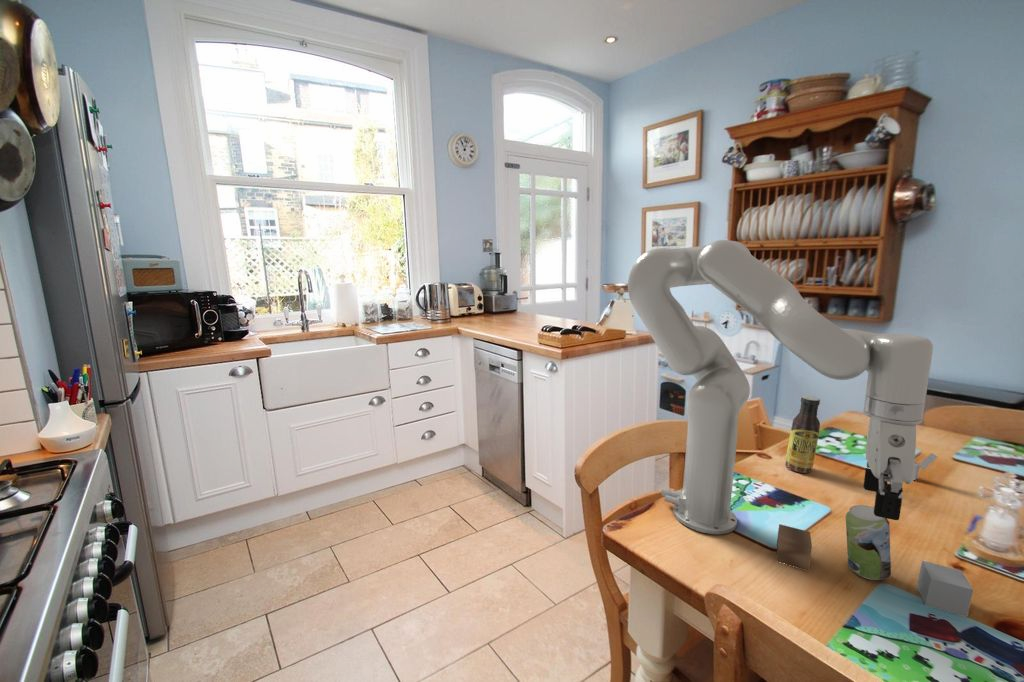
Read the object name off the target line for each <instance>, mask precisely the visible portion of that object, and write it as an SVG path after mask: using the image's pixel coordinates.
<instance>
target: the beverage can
mask: <svg viewBox="0 0 1024 682" xmlns="http://www.w3.org/2000/svg"><path fill="white" fill-rule="evenodd" d="M845 529H846V530H845V531H846V549H847V551H846V553H847V554H846V555H847V566H848V567H849V569H850V570H851V571H853V572H854V573H855V574H856V575H858V576H860V577H862V578H864V579H868V580H870V581H871V580H872V581H881V580H885V579H888V578H889V577H891V574H892V565H891V563H892V561H891V534H890V533H891V532H890V531H891V530H890V521H889V520H888V519H887V518H883V517H878V516H875V515H874V506H869V505H863V504H861V505H859V504H858V505H853V506H851V507H849V509H848V512H846V514H845Z"/></svg>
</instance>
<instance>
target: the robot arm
mask: <svg viewBox="0 0 1024 682" xmlns="http://www.w3.org/2000/svg"><path fill="white" fill-rule="evenodd" d="M697 285H698V286H701V285H712V286H713V287H714V288H715V289H716V290H718V291H719V292H721V294H723V295H724V296H726V297H727V298H729V299H730V300H731V301H732V302H733V303H735V304H736V305H737V306H739V307H740V308H741V309H743V310H744V311H746V312H747V313H748V314H749V315H751V316H752V317H753V318H754V319H756V320H757V322H758V323H759V324H760V325H761V326H762V327H763V328H764V329H765V330H766V331H768V332H769V334H771V335H772V336H773V337H774V338H775V339H776V340H777V341H778V342H779V343H780V344H782V345H783V346H784V347H785V348H786V349H787V350H789V351H790V352H791V353H792V354H793V355H794V356H795V357H798V358H799V359H800V360H802V362H804V363H805V364H806V365H808V366H810V367H811V369H813V370H815V371H816V372H818V373H819V374H821V375H823V376H824V377H827V378H829V379H832V380H836V381H837V380H838V381H846V380H847V381H849V380H852V379H854V378H857V377H859V376H861V375H862V374H863V373H864V372H865V371H866V372H867V374H868V375H867V381H866V390H865V398H864V405H863V414H864V415H865V416H867V417H868V418H869V425H868V429H867V436H866V443H865V460H866V468H865V472H864V478H863V489H864V490H865V491H870V492H875V499H874V506H873V507H874V515H875V516H878V517H883V518H887V520H888V519H889V520H893V521H899V520H900V516H901V510H902V504H903V496H904V495H903V492H904V490H903V484H904V483H905V484H907V485H910V484H912V483H913V482H914V481H913V473H914V462H915V460H916V451H917V425H920V424H922V423H923V419H924V411H925V405H926V396H927V393H928V384H929V378H930V372H931V371H930V370H931V366H932V365H931V364H932V358H933V353H934V352H933V351H934V345H933V342H932V341H931V340H930V339H929V338H927V337H924V336H921V335H916V334H915V335H914V334H907V333H878V332H877V333H876V332H869V331H864V330H859V329H854V328H841V327H839V326H837V325H836V324H835V323H833V322H832V321H831V320H829V319H828V318H826V317H825V316H824V315H822V314H821V313H820V312H818V311H817V310H816V309H815V308H814V307H813V306H811V304H809V303H808V302H807V301H806V299H804V298H803V296H802V295H801V293H800V291H798V289H797V287H795V285H794V284H793V283H791V281H789V280H788V279H787V278H785V277H783V276H782V275H780V273H778V272H777V271H774V270H773V269H772V268H771V267H769V266H767V265H766V264H765V263H763V262H762V261H760V260H759V259H758V258H756V257H755V256H754V255H752V254H751V251H750V250H749V248H748V247H747V246H746V245H745V244H743V243H742V242H739V241H735V240H729V239H719V240H714V241H713V242H712V241H711V243H708V244H707V245H698V246H691V247H684V248H667V247H666V248H664V247H662V248H661V247H660V248H659V247H658V248H654V249H650V250H648V251H646V252H644V253H642V254H641V255H640V256H639V257H638V258H637V259H636V260H635V262H634V264H633V265H632V267H631V270H630V272H629V276H628V280H627V291H628V292H627V293H628V296H629V301H630V303H631V305H632V306H633V309H634V310H635V312H636V314H637V316H638V317H639V318H640V320H641V321H642V323H643V324H644V326H645V328H646V329H647V331H648V332H649V335H650V337H651V338H652V340H653V341H654V343H655V345H656V347H657V348H658V350H659V351H660V353H661V354H662V356H663V358H664V359H665V361H666V363H667V365H668V366H669V367H670V368H671V370H672V371H673V372H675V373H677V374H678V375H680V376H692V375H693V376H694V378H695V379H696V382H695V383H694V385H692V387H691V388H690V391H689V392H688V396H687V400H686V417H687V420H686V421H687V430H686V431H687V432H686V444H685V447H686V449H685V458H684V459H685V461H684V472H683V483H682V485H683V486H682V489H681V490H680V489H677V490H674V489H671V488H667V487H662V488H661V493H660V495H661V497H664V502H667V503H672V504H673V509H672V510H673V515H674V517H675V518H676V519H677V520H678V521H679V523H681V524H682V525H684V526H685V527H688V528H690V529H691V530H693V531H697V532H700V533H704V534H708V535H726V534H728V533H731V532H733V531H734V530H735V529H736V528H737V526H738V518H737V516H736V514H735V513H734V512H733V511H732V510H731V502H732V494H733V493H732V491H733V484H734V483H733V482H734V475H735V464H736V457H737V454H736V453H737V445H738V419H739V414H740V410H741V409H742V408H743V407H744V405H745V404H746V403H747V401H748V399H749V397H750V394H751V386H750V383H749V380H748V378H747V377H746V374H745V373H744V371H743V370H742V368H741V366H740V365H739V364H738V362H737V361H736V359H735V357H734V356H733V354H732V353H731V351H730V350H729V349H728V347H727V345H726V344H725V342H724V341H723V339H722V338H721V336H719V334H717V332H715V331H714V330H712V328H709V327H707V326H704V325H695V324H694V323H693V322H692V320H691V318H690V317H689V315H688V314H687V312H686V311H685V309H684V307H683V306H682V304H680V302H679V301H678V300H677V299H676V297H674V296H673V294H672V291H671V288H679V287H689V286H697ZM915 463H916V462H915ZM888 482H889V483H888Z"/></svg>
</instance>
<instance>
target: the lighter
mask: <svg viewBox="0 0 1024 682" xmlns="http://www.w3.org/2000/svg"><path fill="white" fill-rule="evenodd" d="M937 458H938V456H937V455H936V454H934V453H933V452H932V453H930V454H928V456H927V457H925V458H924V459H923V460H922V461H921V462H919V463H918V462H914V473H913V480H916V479H917V480H918V478H919V477H918V476H919V472H920V468H921V469H923V470H925V469H927V468H928V467H929V466H930V465H931V464H932V463H933V462H934V461H935V460H937ZM917 480H916V481H917Z"/></svg>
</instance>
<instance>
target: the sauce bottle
mask: <svg viewBox="0 0 1024 682" xmlns="http://www.w3.org/2000/svg"><path fill="white" fill-rule="evenodd" d="M800 402H801V404H800V407H799V408H800V409H799V413H798V414H797V415H796V416H795V417H794V418H793V420H792V424H791V428H790V433H789V438H788V444H787V449H786V455H785V467H786V468H787V469H789V470H790V471H793V472H796V473H800V474H809V473H811V471H812V470H813V467H814V464H815V462H814V461H815V457H816V452H817V446H818V440H819V436H820V428H821V427H820V426H821V423H820V419H819V417H818V409H819V405H820V404H821V403H820V402H821V398H819V397H816V396H813V395H812V396H811V395H802V396H801V398H800Z"/></svg>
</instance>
